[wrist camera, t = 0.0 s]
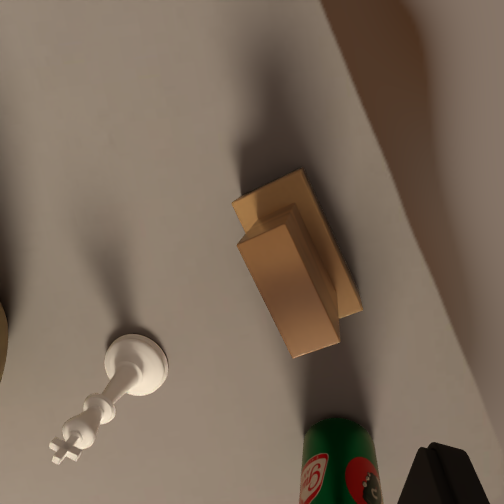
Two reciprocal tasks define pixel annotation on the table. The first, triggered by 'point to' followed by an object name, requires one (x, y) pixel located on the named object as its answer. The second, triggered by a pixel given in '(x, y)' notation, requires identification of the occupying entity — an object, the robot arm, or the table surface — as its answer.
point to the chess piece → (113, 391)
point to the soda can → (339, 465)
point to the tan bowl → (3, 340)
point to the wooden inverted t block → (296, 262)
